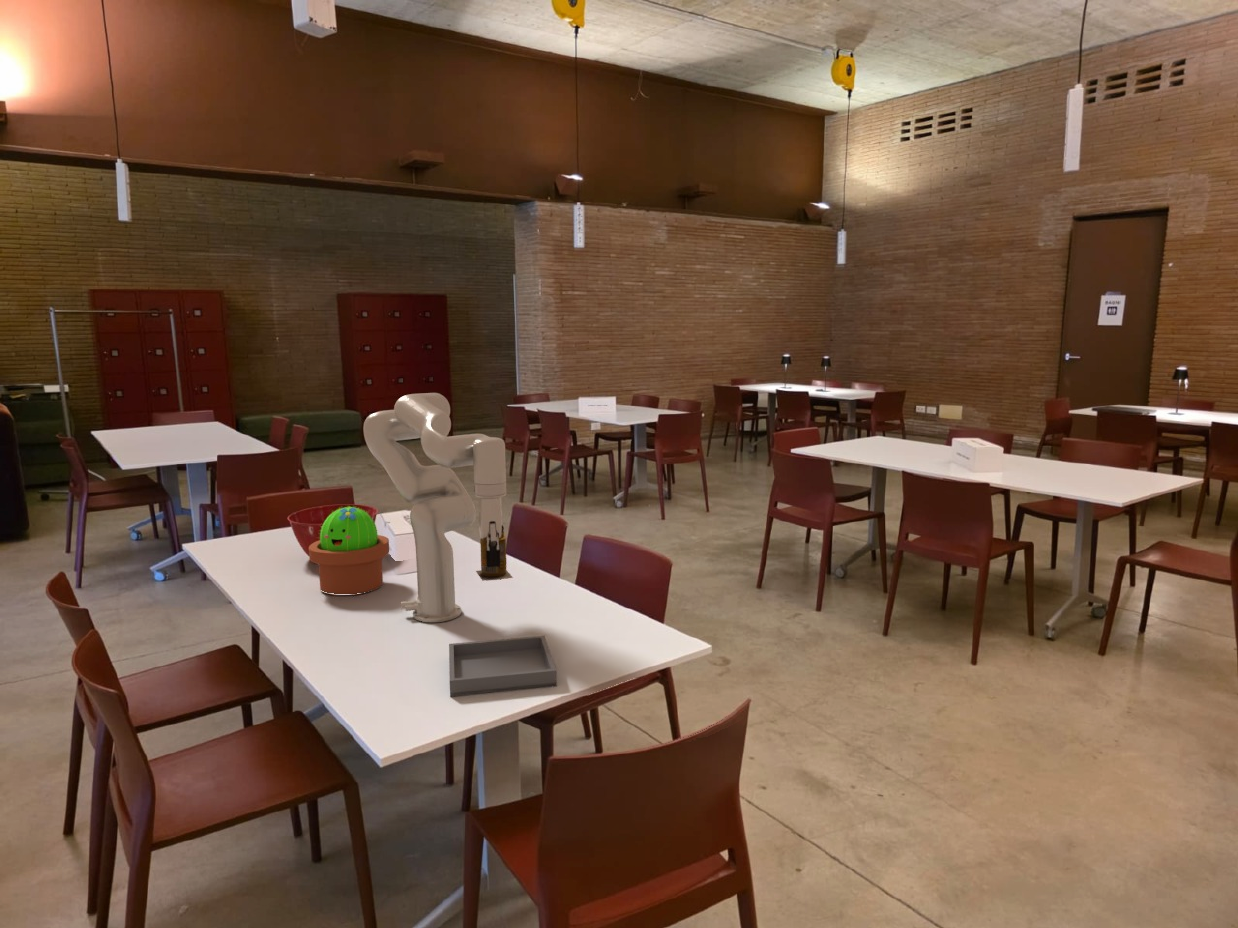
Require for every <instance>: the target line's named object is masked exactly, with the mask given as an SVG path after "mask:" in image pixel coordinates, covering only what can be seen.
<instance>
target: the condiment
mask: <svg viewBox="0 0 1238 928" xmlns="http://www.w3.org/2000/svg"><path fill="white" fill-rule="evenodd" d="M489 528H490V524H489ZM504 530H505V527H504V525H502V531H501V537H500V538H499V539H498V540H499V550H500V566H499V567H487V565H486V550H487V540H486V539H487V537H486V538H484V539H481V538H480V542H479V543H480V544H479V545H480V570H475V572H476V574H477V575H478V576H479V578H480V579H481V581H482V582H483V581H487V582H489V581H497V580H506V579H508V580H509V579H513V578H514V577H513V576H512V575H511V573H510V572H509V571H508V570H507V541H506V540H507V538H506V536H505V531H504ZM498 534H499V533H498ZM489 537H490V535H488V538H489ZM496 537H497V535H496ZM489 542H491V540H490V541H489Z"/></svg>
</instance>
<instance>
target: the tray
mask: <svg viewBox="0 0 1238 928" xmlns="http://www.w3.org/2000/svg"><path fill="white" fill-rule="evenodd" d="M549 647H550V646H549V644H548V642H547V639H546V636H545V635H535V636H523V637H515V638H514V637H512V638H501V639H490V640H489V639H488V640H477V641H469V642H465V641H464V642H455V643H449V644H448V654H449V655H448V660H449V662H448V664H449V665H448V668H449V669H448V670H449V672H448V673H449V694H450V695H449V696H450V698H453V697H454V698H455V697H463V696H464V697H465V696H470V695H471V696H473V695H483V694H494V693H502V692H512V691H513V692H514V691H521V690H530V689H542V688H553V687H557V684H558V683H557V681H558V680H557V676H558V675H557V668H556V665H555V662H554V659H553V657H552V654H551V651H550V650H551V649H550V648H549ZM552 686H553V687H552Z"/></svg>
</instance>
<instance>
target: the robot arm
mask: <svg viewBox="0 0 1238 928" xmlns="http://www.w3.org/2000/svg"><path fill="white" fill-rule="evenodd" d="M393 407H394V408H393V409H388V410H379V411H376V412H374V413H371V414H369V415H368V416H367V417H366V419H365V420H364V422H363V428H362V429H363V437H364V440H365V443H366V446H367V448H368V449H369V452H370V453H371V454H372V456H373V457H374V458H375V459H376V460H377V461H378V462H379V464H380V465H381V466H382V467H383V468H384V469H385V471H386V472H387V474H388V476H389V478H390V479H391V482H392V483H393V485H394V487H395V488H396V489H397V492H398V493H399V495H400V496H401V498H402V499H403V500H404V501H405V502H406V503H410V504H414V505H413V506H412V507H411V509H410V513H409V517H410V524H411V529H412V532H413V537H414V538H413V539H414V543H415V545H414V546H415V559H416V561H415V563H416V578H417V597H416V599H413V601H401V602H400V608H401V610H405V612H410V611H413V612H412V617H413V619H415V620H416V621H418V622H421V621H422V622H421V623H441V622H443V623H444V622H447V621H450V620H454V619H456V618H457V617H459V616H460V615H461V614H462V607H461V606H460V605H458V604H456V591H455V589H456V587H455V569H454V568H455V567H454V550H453V546H452V543H450V541H449V540H448V538H447V537H446V536H445V534H446V533H450V532H455V531H458V530H462V529H466V528H468V527H471V526H472V525H473V524H474V523H475V521H476V517H477V510H476V505H475V503H474V501H473V499H472V497H471V496H470V494H469V493H468V491H467V490H466V488H465V487H464V485H463V483H462V482H461V480H460V479H459V477H458V475H457V474H456V472H454V470H453V469H455V468H459V467H460V468H461V467H467V466H473V489H474V490H473V491H474V497H475V498H478V524H479V525H478V530H479V531H478V533H479V538H480V539H484V538H486V537H487V539H486V540H487V550H486V565H487V567H499V566H500V550H499V540H498V539H499V538H500V537H501V531H502V524H503V521H502V520H503V518H502V517H503V510H502V509H503V505H502V503H503V501H502V498H504V497H506V496H507V470H506V468H507V467H506V461H507V460H506V443H505V440H504V439H503V438H500V437H494V436H489V435H487V434H484V433H470V434H469V433H468V434H459V435H452V436H451V435H450V436H448V435H449V432H450V431H451V427H452V421H451V417H450V414H451V406H450V403H449V401H448V399H447V397H445V396H444V395H442V394H441V393H438V392H428V393H427V392H426V393H411V394H406V395H403V396H401V397H400V398H398V399H397V400H396V402H395V404H394V406H393ZM413 439H420V443H421V447H422V450H423V453H424V454H425V456H426V457H427V458H429V459H430V460H431V461H432V462H434V463H435V464H433V465H423V464H421V463H420V462H419V461H418V459H417V458H416V455H415V454H414V453H413V452H412V451H411V450H409V449H408V448H407V447H406V446H404V445H403V444H401V443H399V442H397V441H405V440H406V441H407V440H413ZM489 524H490V528H489ZM498 533H499V534H498ZM488 535H490V537H489V538H488ZM496 535H497V537H496ZM490 540H491V542H489V541H490Z"/></svg>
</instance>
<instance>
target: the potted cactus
mask: <svg viewBox="0 0 1238 928" xmlns="http://www.w3.org/2000/svg"><path fill="white" fill-rule="evenodd" d="M356 507H357V506H356ZM339 508H340V507H339ZM374 522H375V523H374ZM323 523H324V524H323V526H321V527H322V528H321V530H320V531H321V533H320V540H319V541H316V542H314V543H312V544H311V545H310V546H309V556H308V557H309V561H310V562H311V563H314V564H317V565H318V571H319V572H318V574H319V588H320V591H321V590H322V591H324V592H327V593H334V594H357V593H364V592H368V591H371V590H373V591H375V589H376V590H377V589H379V588H381V586H382V585H383V582H384V580H383V579H384V576H383V563H382V562H383V561H382V559H383V558H384V557H386V556H388V554H389V553H390V540H389V538H388V537H387V536H385V535H380V534H378V532H379V529H377V525H376V520H375V521H373V519H372V518H371V517H370V516H369V515H368V514H367V513H366V512H365V511H363V510H361V509H359V508H355V506H353V507H350V506H349V507H344V508H340V509H338V510H336V511H334V512H332V514H330V515H329V516H328V517H327V519H326V520H325V522H323ZM322 591H321V592H322ZM371 592H372V591H371ZM368 593H369V592H368ZM364 594H365V593H364Z"/></svg>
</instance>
